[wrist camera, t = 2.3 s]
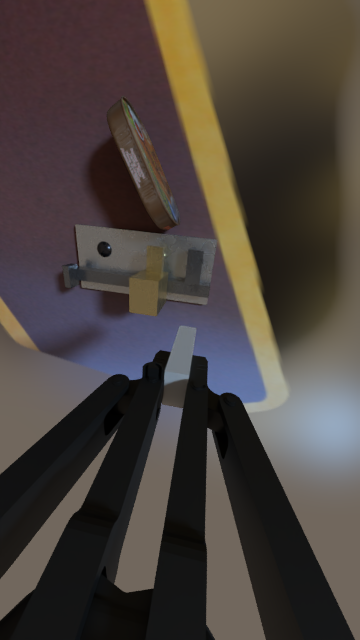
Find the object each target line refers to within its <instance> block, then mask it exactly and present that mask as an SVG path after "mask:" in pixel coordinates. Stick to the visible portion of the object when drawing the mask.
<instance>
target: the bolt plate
mask: <svg viewBox="0 0 360 640" xmlns="http://www.w3.org/2000/svg"><path fill="white" fill-rule="evenodd" d="M75 227H76V237H77V247H78V256H79V266H81V267H89V268H97V269H105V270H112V271H120V272H128V273H135V274H137V273H138V272H140V271H142V270H144V269H146V261H147V246H148V245H152V246H161V247H165V251H164V267H163V272H168V278H174V279H181V280H185V276H186V267H187V258H188V249H196V250H204V255H203V262H202V269H201V276H200V282H204V283H210V281H211V275H212V269H213V262H214V256H215V250H216V244H217V240H214V239H205V238H196V237H187V236H178V235H169V234H160V233H151V232H142V231H133V230H124V229H115V228H106V227H97V226H88V225H79V224H75ZM81 285H82V288H89V289H96V290H104V291H111V292H118V293H125V294H129V287H124V286H117V285H109V284H102V283H95V282H87V281H81ZM166 299H168V300H175V301H182V302H189V303H197V304H204V305H207V299H208V298H204V297H197V296H190V295H182V294H175V293H168V292H167V298H166Z"/></svg>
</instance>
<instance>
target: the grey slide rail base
mask: <svg viewBox="0 0 360 640" xmlns="http://www.w3.org/2000/svg"><path fill="white" fill-rule="evenodd" d="M203 255H204V250H196V249H188V258H187V267H186V276H185V280H181V279H174V278H168V284H167V292H168V293H175V294H182V295H190V296H197V297H204V298H208V296H209V290H210V283H204V282H200V276H201V269H202V262H203ZM62 268H63V275H64V282H65V287H66V288H72V287H75V286H77V285H79V280H80V281H87V282H95V283H102V284H109V285H117V286H124V287H129V278H130V277H131V276H133V275H135V273H128V272H120V271H112V270H105V269H97V268H89V267H81V266H79V267H77V264H67V265H63V266H62Z"/></svg>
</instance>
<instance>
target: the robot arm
mask: <svg viewBox="0 0 360 640" xmlns="http://www.w3.org/2000/svg"><path fill="white" fill-rule="evenodd" d="M195 335H196V328H192V327H185V326H180V327H179V330H178V333H177V336H176V339H175V342H174V345H173V348H172V351H171V352H167V351H161V350H160V351H159V352H158V353H156V355H155V357H154V359H153V362H149V363H146V364H145V365H144V366H143V377H142V378H141V379H138V380H129V378H128V377H127V376H125V375H122V374H116V375H113V376H111V377H110V378H108V379H107V381H105V382H104V383H103V384H102V385H101V386H100V387H98V388H97V389H96V390H95V391H94V392H93V393H92V394H90V395H89V396H88V397H87V398H86V399H85V400H84V401H82V403H80V404H79V405H78V406H77V407H76V408H75V409H73V410H72V411H71V412H70V413H69V414H68V415H67V416H66V417H64V418H63V419H62V420H61V421H60V422H59V423H58V424H57V425H55V426H54V427H53V428H52V429H51V430H50V431H49V432H48V433H47V434H45V435H44V436H43V437H42V438H41V439H40V440H39V441H38V442H36V443H35V444H34V445H33V446H32V447H31V448H30V449H28V450H27V451H26V452H25V453H24V454H23V455H22V456H21V457H19V458H18V459H17V460H16V461H15V462H14V463H13V464H12V465H10V466H9V467H8V468H7V469H6V470H5V471H4V472H3V473H1V474H0V578H1V577H2V576H3V575H4V574H5V572H6V571H7V570H8V569H9V568H10V566H11V565H12V564H13V563H14V561H15V560H16V559H17V557H18V556H19V555H20V554H21V552H22V551H23V550H24V548H25V547H26V546H27V545H28V543H29V542H30V541H31V540H32V538H33V537H34V536H35V534H36V533H37V532H38V531H39V529H40V528H41V527H42V525H43V524H44V523H45V522H46V520H47V519H48V518H49V516H50V515H51V514H52V513H53V511H54V510H55V509H56V507H57V506H58V505H59V503H60V502H61V501H62V500H63V498H64V497H65V496H66V495H67V493H68V492H69V491H70V489H71V488H72V487H73V486H74V484H75V483H76V482H77V481H78V479H79V478H80V477H81V475H82V474H83V473H84V472H85V470H86V469H87V468H88V466H89V465H90V464H91V462H92V461H93V460H94V458H95V457H96V456H97V455H98V453H99V452H100V451H101V450H102V448H103V447H104V446H105V445H106V443H107V442H108V441H109V439H110V438H111V437H112V436H113V434H114V433H115V432H116V430H117V429H118V430H117V433H116V435H115V437H114V439H113V441H112V443H111V445H110V447H109V450H108V452H107V454H106V456H105V458H104V460H103V462H102V465H101V467H100V469H99V471H98V473H97V475H96V478H95V479H94V481H93V484H92V486H91V488H90V490H89V492H88V494H87V497H86V499H85V501H84V503H83V505H82V507H81V508H80V509H79V511H77V512H76V513H74V514H73V516H72V517H71V518H70V520H69V522H68V524H67V525H66V527H65V529H64V531H63V533H62V535H61V537H60V539H59V541H58V543H57V546H56V547H55V550H54V552H53V554H52V556H51V558H50V560H49V562H48V564H47V566H46V568H45V570H44V572H43V574H42V576H41V578H40V580H39V582H38V584H37V586H36V588H35V589H34V590H33V591H32V592H31V593H29V594H28V595H27V596H26V597H25V598H24V599H23V600H22V601H20V602H19V603H18V604H17V605H16V606H15V607H14V608H13V609H12V610H11V611H10V612H9V613H8V614H7V615H6V616H5V617H4V618H3V619H2V620H1V621H0V640H215V639H214V637H213V635H212V633H211V632H210V630H209V628H208V627H207V625H206V588H207V585H206V584H207V549H206V543H205V502H206V460H207V458H206V457H207V428H209V429H211V430H212V433H213V438H214V442H215V445H216V449H217V453H218V457H219V461H220V465H221V469H222V472H223V476H224V480H225V484H226V487H227V491H228V495H229V499H230V503H231V507H232V511H233V515H234V518H235V522H236V526H237V530H238V534H239V538H240V542H241V545H242V549H243V553H244V557H245V561H246V564H247V568H248V572H249V576H250V580H251V584H252V588H253V591H254V595H255V599H256V603H257V607H258V611H259V615H260V618H261V622H262V626H263V630H264V634H265V637H266V640H355V639H354V637H353V635H352V632H351V630H350V628H349V626H348V624H347V622H346V620H345V618H344V616H343V614H342V611H341V609H340V607H339V606H338V603H337V601H336V599H335V597H334V595H333V593H332V591H331V588H330V586H329V584H328V582H327V580H326V578H325V576H324V574H323V571H322V569H321V567H320V565H319V563H318V561H317V559H316V557H315V555H314V553H313V550H312V548H311V546H310V544H309V542H308V540H307V538H306V536H305V534H304V532H303V530H302V527H301V525H300V523H299V521H298V519H297V517H296V515H295V513H294V511H293V509H292V506H291V504H290V502H289V500H288V498H287V496H286V494H285V492H284V489H283V487H282V485H281V483H280V481H279V479H278V477H277V475H276V473H275V471H274V469H273V466H272V464H271V462H270V460H269V458H268V456H267V454H266V452H265V450H264V447H263V445H262V443H261V441H260V439H259V437H258V435H257V433H256V431H255V428H254V426H253V424H252V422H251V420H250V418H249V416H248V414H247V412H246V410H245V407H244V405H243V403H242V401H241V400H240V398H239V397H238V396H236V395H234V394H232V393H223V394H221V395H217V394H215V393H213V392H212V391H211V390H210V389H209V388H208V386H207V370H208V361H207V360H206V358H205V357H201V356H194V355H193V348H194V341H195ZM161 403H162V404H163V405H169V406H174V407H179V408H183V413H182V419H181V425H180V432H179V437H178V444H177V450H176V456H175V462H174V468H173V474H172V480H171V487H170V493H169V499H168V505H167V511H166V517H165V523H164V530H163V534H162V541H161V546H160V553H159V558H158V565H157V571H156V577H155V583H154V589H148V590H142V591H135V592H129V593H126V592H123V591H122V590H120V589H119V588H118V587H117V586H116V585H114V582H115V578H116V574H117V569H118V563H119V558H120V553H121V550H122V546H123V542H124V539H125V535H126V532H127V528H128V525H129V521H130V517H131V514H132V510H133V507H134V503H135V500H136V496H137V492H138V489H139V485H140V482H141V478H142V475H143V471H144V468H145V464H146V460H147V457H148V453H149V450H150V446H151V442H152V439H153V435H154V432H155V428H156V425H157V421H158V418H159V414H160V409H161Z"/></svg>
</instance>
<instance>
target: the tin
mask: <svg viewBox="0 0 360 640" xmlns="http://www.w3.org/2000/svg"><path fill="white" fill-rule="evenodd" d="M107 121H108V125H109V128H110V131H111V134H112V136H113V139H114V141H115V143H116V146H117V148H118V150H119V152H120V155H121V157H122V159H123V161H124V164H125V166H126V168H127V170H128V173H129V175H130V177H131V179H132V181H133V184H134V186H135V188H136V190H137V192H138V194H139V197H140V199H141V201H142V203H143V205H144V207H145V209H146V211H147V213H148V214H149V216H150V217H151V219H152V220H153V222H154V223H155V224H156V225H157V226H158V227H159V228H160V229H162V230H169V229H171V228H172V227H174V226H176V225H180V216H179V212H178V208H177V205H176V203H175V200H174V197H173V195H172V192H171V190H170V187H169V185H168V182H167V180H166V177H165V175H164V172H163V170H162V167H161V165H160V162H159V160H158V157H157V155H156V152H155V150H154V147H153V145H152V142H151V140H150V138H149V136H148V134H147V132H146V129H145V127H144V126H143V123H142V122H141V120H140V118H139V116H138V114H137V113H136V111H135V110H134V108H133V106H132V105H131V103H130V102H129V101H128V99H127V98H126V97H125V96H122V97H121V99H120V100H119V101H118V102H117V103H115V104H114V105H113V106H112V107H111V108H110V109H109V110H108V112H107Z"/></svg>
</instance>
